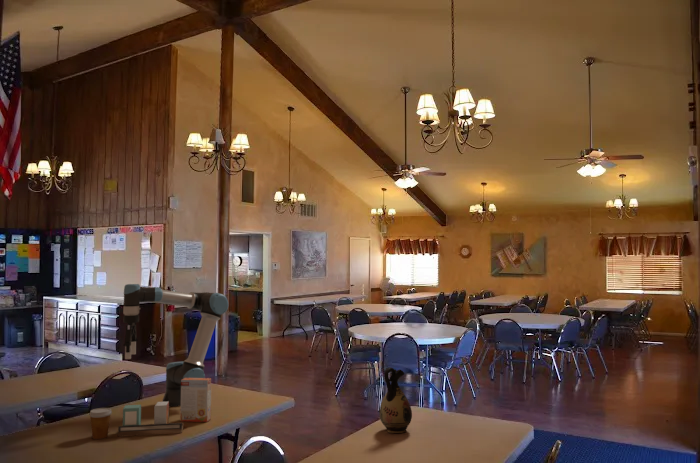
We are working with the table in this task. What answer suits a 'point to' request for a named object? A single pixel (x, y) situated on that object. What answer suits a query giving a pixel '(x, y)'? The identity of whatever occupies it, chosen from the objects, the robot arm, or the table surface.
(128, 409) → the tea box
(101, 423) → the disposable coffee cup
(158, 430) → the shelf board
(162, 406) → the small box
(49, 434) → the table surface
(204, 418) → the cracker box
